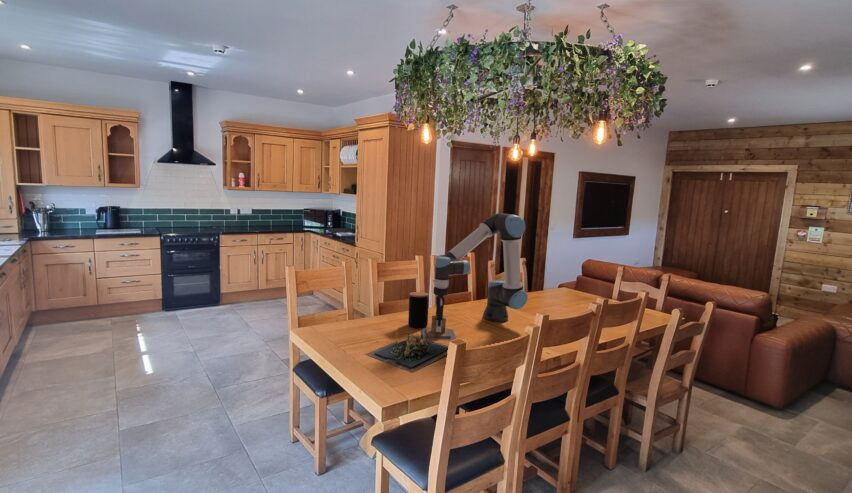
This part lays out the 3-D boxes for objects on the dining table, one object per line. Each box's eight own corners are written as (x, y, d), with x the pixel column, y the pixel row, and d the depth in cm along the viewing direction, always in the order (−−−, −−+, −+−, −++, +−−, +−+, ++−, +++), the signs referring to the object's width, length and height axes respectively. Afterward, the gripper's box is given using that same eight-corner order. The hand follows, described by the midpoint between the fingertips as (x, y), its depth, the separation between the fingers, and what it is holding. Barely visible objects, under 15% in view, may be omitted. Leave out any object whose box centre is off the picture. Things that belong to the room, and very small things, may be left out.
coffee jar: (428, 324, 248) (429, 292, 246) (426, 329, 237) (427, 296, 236) (409, 323, 249) (410, 291, 247) (406, 328, 238) (408, 295, 237)
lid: (447, 330, 238) (449, 314, 237) (450, 338, 226) (451, 321, 225) (425, 329, 237) (426, 313, 236) (427, 337, 225) (428, 320, 224)
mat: (452, 330, 241) (452, 329, 241) (456, 342, 224) (457, 340, 224) (419, 328, 240) (419, 327, 240) (421, 340, 222) (421, 339, 222)
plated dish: (411, 334, 228) (412, 321, 227) (457, 349, 212) (458, 335, 211) (364, 355, 200) (364, 340, 199) (413, 375, 184) (414, 358, 183)
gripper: (432, 282, 236) (429, 324, 240) (435, 290, 220) (432, 335, 223) (446, 283, 237) (443, 325, 240) (450, 291, 220) (446, 336, 223)
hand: (438, 330), depth 232 cm, fingers open, 4 cm apart
